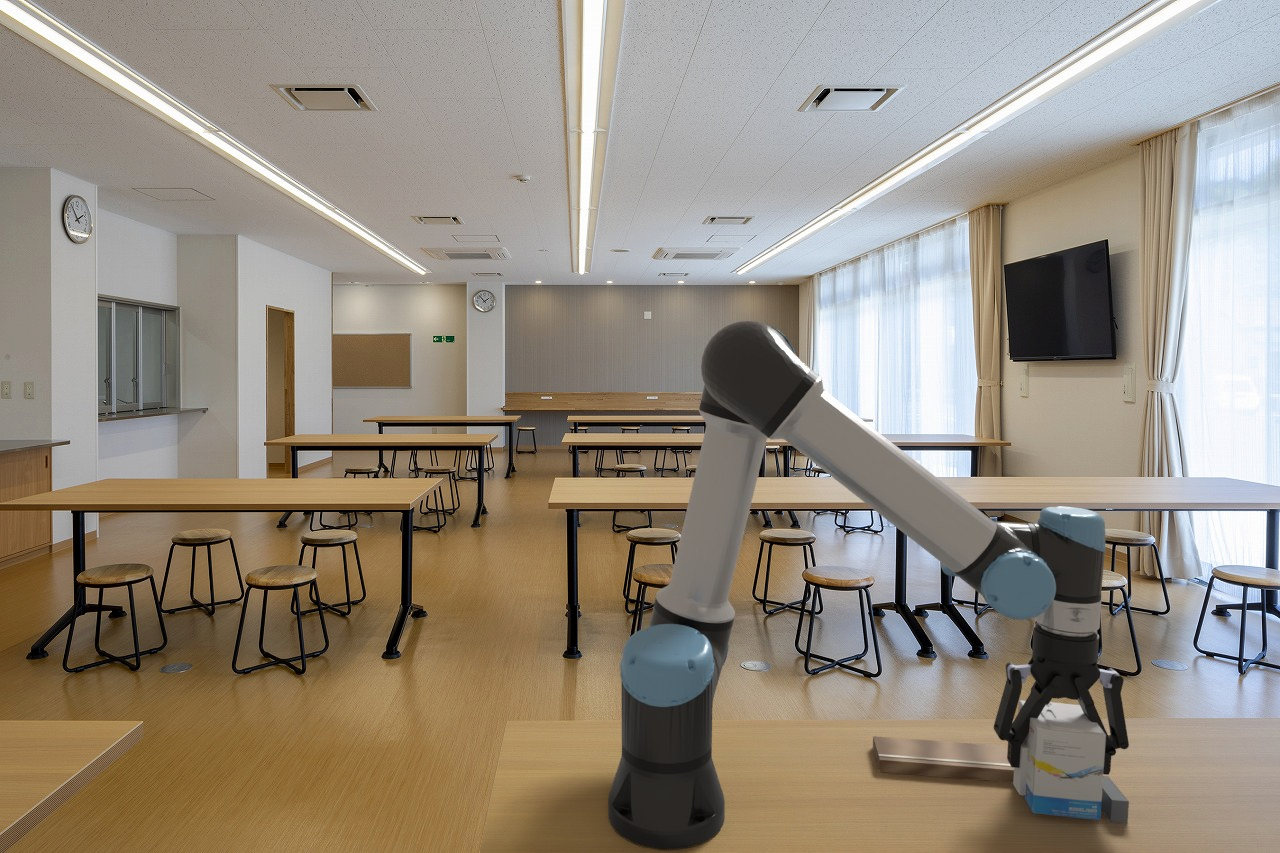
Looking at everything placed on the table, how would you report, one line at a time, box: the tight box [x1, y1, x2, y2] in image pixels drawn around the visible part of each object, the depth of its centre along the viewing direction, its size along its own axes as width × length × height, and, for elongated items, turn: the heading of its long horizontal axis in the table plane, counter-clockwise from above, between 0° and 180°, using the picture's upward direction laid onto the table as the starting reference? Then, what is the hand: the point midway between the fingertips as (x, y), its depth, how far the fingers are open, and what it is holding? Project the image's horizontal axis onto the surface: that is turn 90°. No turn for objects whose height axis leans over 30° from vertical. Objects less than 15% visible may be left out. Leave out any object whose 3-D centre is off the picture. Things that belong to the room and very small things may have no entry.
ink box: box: [1017, 699, 1106, 821], centre depth 104 cm, size 9×8×12 cm
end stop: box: [1101, 775, 1130, 825], centre depth 104 cm, size 2×6×3 cm, turn 171°
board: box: [872, 735, 1014, 783], centre depth 115 cm, size 26×7×2 cm, turn 81°
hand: (1056, 792), depth 105 cm, fingers closed on ink box, 8 cm apart
